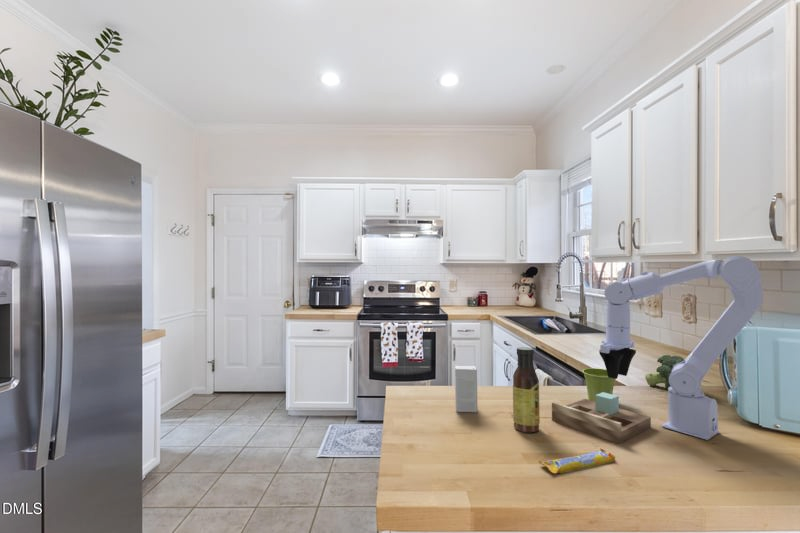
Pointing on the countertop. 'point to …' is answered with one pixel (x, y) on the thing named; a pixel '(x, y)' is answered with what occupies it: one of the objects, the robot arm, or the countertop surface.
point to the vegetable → (663, 370)
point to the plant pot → (597, 382)
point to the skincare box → (466, 388)
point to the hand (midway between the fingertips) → (617, 376)
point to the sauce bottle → (526, 393)
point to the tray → (600, 420)
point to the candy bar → (578, 462)
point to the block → (607, 403)
